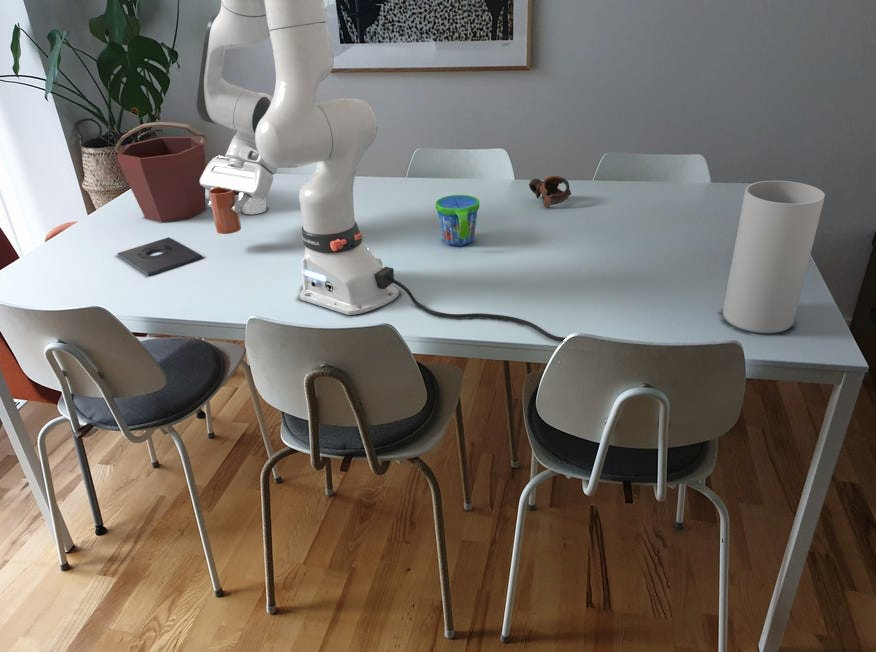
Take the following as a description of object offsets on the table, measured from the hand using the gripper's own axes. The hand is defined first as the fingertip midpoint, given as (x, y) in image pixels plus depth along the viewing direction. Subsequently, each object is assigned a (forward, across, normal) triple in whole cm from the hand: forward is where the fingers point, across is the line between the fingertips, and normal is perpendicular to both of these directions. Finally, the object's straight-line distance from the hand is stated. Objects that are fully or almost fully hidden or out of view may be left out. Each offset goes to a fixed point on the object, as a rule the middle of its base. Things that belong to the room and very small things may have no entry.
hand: (223, 209), depth 178 cm
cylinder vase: (-7, +119, +24) cm, 122 cm away
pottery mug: (-38, +56, +54) cm, 87 cm away
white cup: (-10, -16, +25) cm, 31 cm away
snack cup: (-13, +48, +29) cm, 58 cm away
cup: (+3, 0, +4) cm, 5 cm away
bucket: (-2, -36, +17) cm, 40 cm away
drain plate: (+15, -14, 0) cm, 21 cm away
